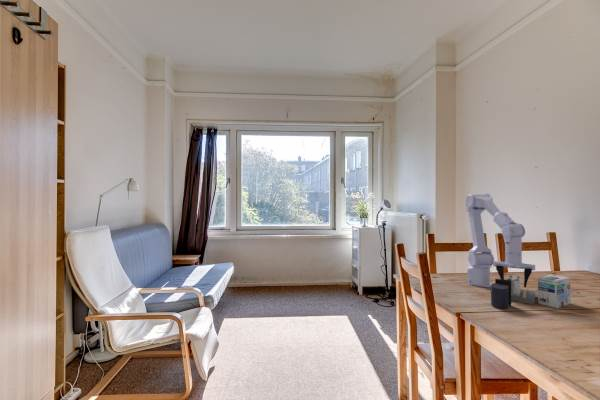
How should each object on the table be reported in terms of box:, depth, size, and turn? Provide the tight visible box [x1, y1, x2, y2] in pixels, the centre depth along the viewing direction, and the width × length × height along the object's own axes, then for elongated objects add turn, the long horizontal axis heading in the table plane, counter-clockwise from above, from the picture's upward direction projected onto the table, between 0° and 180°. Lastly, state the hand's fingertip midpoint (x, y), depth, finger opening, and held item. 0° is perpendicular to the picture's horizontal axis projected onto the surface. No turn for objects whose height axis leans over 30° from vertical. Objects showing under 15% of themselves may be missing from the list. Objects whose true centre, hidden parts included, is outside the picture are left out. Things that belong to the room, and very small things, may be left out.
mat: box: [521, 288, 538, 297], centre depth 141 cm, size 16×9×1 cm, turn 53°
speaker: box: [490, 278, 512, 310], centre depth 124 cm, size 8×6×10 cm
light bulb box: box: [537, 274, 572, 309], centre depth 125 cm, size 11×7×11 cm, turn 118°
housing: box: [505, 275, 522, 296], centre depth 133 cm, size 8×5×6 cm, turn 143°
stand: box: [511, 287, 536, 305], centre depth 134 cm, size 14×12×4 cm
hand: (513, 285), depth 134 cm, fingers open, 7 cm apart
